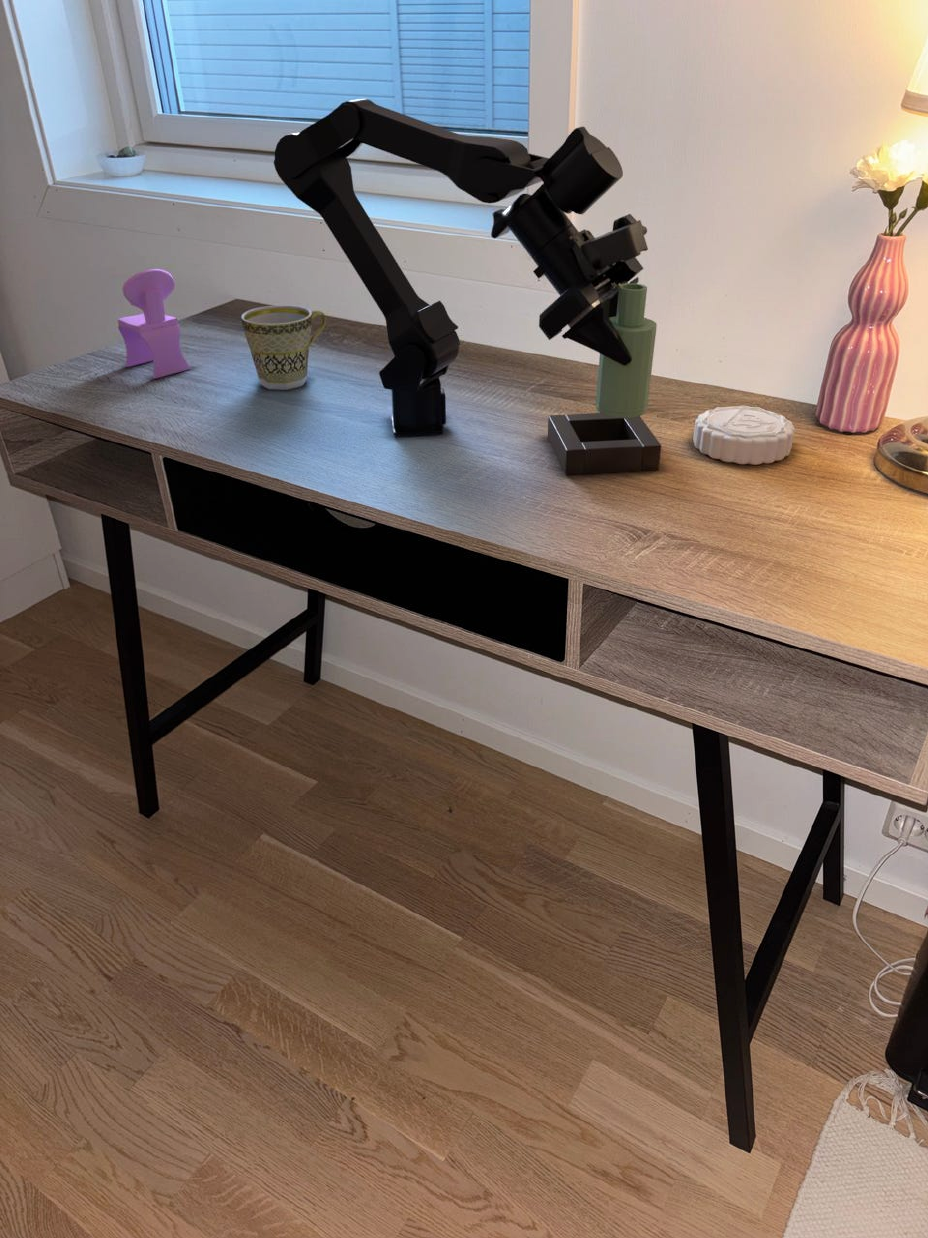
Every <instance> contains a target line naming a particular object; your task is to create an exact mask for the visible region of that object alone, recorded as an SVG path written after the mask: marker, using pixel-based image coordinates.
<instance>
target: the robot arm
mask: <svg viewBox="0 0 928 1238" xmlns="http://www.w3.org/2000/svg"><path fill="white" fill-rule="evenodd" d="M363 144H364V145H367V146H369V147H372V148H374V149H377V150H380V151H383V152H385V153H388V154H391V155H393V156H396V157H399V158H400V159H401V158H402V159H404V160H407V161H410V162H412V163H415V164H417V165H420V166H422V167H426V168H428V169H431V170H434V171H437V172H439V173H440V174H442V175H444V177H447V178H448V179H449V180H450V181H451V182H452V183H453V185H454V186H456V188H458V189H459V190H461V191H463V192H465V193H466V194H467V195H469V196H471V197H473V198H475V199H476V200H477V201H479V202H481V203H483V204H495V203H498V202H501V201H504V200H506V199H509V198H511V197H514V196H515V195H518V194H520V193H522V192H523V191H524V190H525V189H526V188H528V187H531V186H533V185H536V184H539V183H542V184H541V185H540V186H539V187H538V188H537V189H536V190H535V191H534V192H533V193H532V194H529V193H522V194H520V195H519V196H518V197H517V198H516V199H515V200H514V201H513V202H512V203H511V204H510V205H509V206H508V207H507V208H506V209H504V208H500V209H497V210H495V211H493V212H492V227H491V233H490V235H491V238H492V239H497V238H499V237H502V236H504V235H507V234H508V233H510V231H511V233H512V234H513V236H514V237H515V238H516V240H517V241H518V243H520V244H521V246H522V247H523V249H524V250H525V251H526V253H527V254H528V255H529V256H530V258H531V260H533V263H535V265H536V266H537V267H536V268H535V269H534V270H533V273H534V274H535V276H536V277H537V279H538V280H539V279H541V278H543V277H545V278H546V279H547V281H548V282H549V283H550V284H551V286H552V287H553V288H554V290H555V291H556V292H557V293H558V294H557V295H559V297H557V298H556V299H555V300H554V301H553V302H552V303H551V304H550V305H548V306H547V307H546V308H545V309H544V310H543V311H542V312H541V313H539V316H538V317H539V319H538V320H539V321H538V327H539V329H540V330H541V332H542V333H543V334H544V335H545V337H546V338H547V339H548V340H549V341H551V340H552V339H553V338H555V337H557V336H558V335H559V334H560V333H561V332H562V331H563V330H564V329H565V328H566V327H567V326H568V327H569V328H568V330H566V331H565V332H564V333H563V334H562V335H561V337H562V338H563V339H564V340H566V339H569V340H571V341H573V342H575V343H577V344H580V345H581V346H583V347H586V348H588V349H590V350H593V351H594V352H596V353H598V354H599V355H600V354H602V355H604V356H606V357H608V358H610V359H612V360H614V361H616V362H618V363H620V364H621V365H623V366H626V365H627V364H629V363H630V362H631V361H632V357H631V356H630V354H629V352H628V350H627V348H626V346H625V344H624V343H623V341H622V339H621V337H620V336H619V334H618V332H617V331H616V329H615V327H614V325H613V324H612V322H611V320H610V319H609V318H610V317H615V316H616V314H617V303H618V292H619V286H620V285H622V284H628V283H634V284H639V279H640V278H639V276H637V275H638V274H639V273H641V271H643V270H644V267H643V265H642V264H641V262H640V261H639V260H638V259H637V257H639V256H640V255H642V253H641V252H646V251H648V250H649V248H648V243H647V241H646V238H645V235H646V234H647V233H648V229H647V227H646V226H644V225H643V224H642V221H641V219H638V220H636V218H635V217H634V216H633V215H632V214H631V213H628V214H626V215H623V216H621V217H619V218H617V219H615V220H613V222H612V230H611V231H608V232H606V233H604V234H602V235H600V236H596V237H595V236H594V235H593V233H592V232H591V230H586V229H583V230H580V231H579V230H578V229H577V227H576V226H575V225H574V224H573V222H572V220H570V218H569V217H568V215H569V214H571V213H575V214H577V215H584V214H585V213H587V211H588V210H589V209H590V208H591V207H593V206H594V205H595V204H596V203H597V202H598V201H599V200H600V199H601V198H602V197H603V196H604V195H605V194H606V193H607V192H608V191H609V190H610V189H611V188H612V187H613V186H615V184H616V183H617V182H619V181H620V180H621V179H622V178H623V176H624V171H623V167H622V165H621V162H620V160H619V159H618V157H617V156H616V154H615V153H614V151H613V150H612V149H611V148H610V146H606V145H605V144H604V143H603V142H602V141H601V140H600V139H599V138H597V137H596V136H594V135H592V134H590V132H589V131H588V129H587V128H586V127H585V126H578V127H575V128H574V129H573V130H572V131H571V132H570V134H568V135H567V137H566V139H565V141H564V142H563V143H562V144H561V146H560V147H558V149H557V150H556V151H555V152H554V153H553V154H552V155H551V156H550V157H545V156H543V155H538V154H535V153H530V152H528V147H526V146H525V145H524V144H523V143H521V142H519V141H518V140H514V139H508V138H500V137H493V136H481V135H480V136H479V135H467V134H459V133H456V132H453V131H451V130H449V129H445V128H442V127H440V126H437V125H434V124H431V123H429V122H427V121H426V122H425V121H423V120H420V119H416V118H415V117H412V116H409V115H407V114H403V113H401V112H398V111H395V110H392V109H390V108H387V107H384V106H381V105H379V104H377V103H375V102H374V101H372V100H371V99H368V98H359V99H352V100H346V101H343V102H342V103H340V104H339V105H338V106H337V107H336V108H335V109H334V110H333V111H331V112H330V113H329V114H327V115H325V116H323V117H322V118H321V119H319V120H317V121H316V122H314V123H312V124H310V125H309V126H307V127H305V128H304V129H303V130H301V131H300V132H295V133H290V134H285V135H284V136H282V137H281V138H280V139H279V140H278V142H277V143H276V146H275V149H274V160H273V166H274V168H275V171H276V174H277V175H278V178H279V179H280V180H281V181H282V182H283V183H284V185H285V186H286V187H287V188H288V189H289V190H290V192H291V193H292V194H293V196H295V198H297V199H298V200H299V201H300V202H302V203H303V204H304V205H306V206H307V207H309V209H312V210H313V211H314V212H316V213H318V215H319V216H320V217H321V218H322V219H323V222H324V223H325V224H326V226H327V228H328V229H329V231H330V232H331V234H332V235H333V237H334V238H335V240H336V242H337V243H338V245H339V247H340V248H341V250H342V252H343V253H344V255H345V256H346V258H347V259H348V261H349V263H350V264H351V265H352V267H353V269H354V271H355V272H356V273H357V275H358V277H359V278H360V280H361V282H362V283H363V285H364V286H365V288H366V291H368V293H369V294H370V296H371V297H372V299H373V300H374V302H375V304H376V306H377V307H378V308H379V310H380V312H381V314H382V315H383V317H384V319H385V325H386V326H385V327H386V335H387V341H388V345H389V347H390V350H391V352H392V354H393V356H394V357H393V358H392V359H391V360H390V361H389V362H388V363H387V364H385V366H384V367H383V368H382V369H381V370H380V371H378V372H379V373H378V376H379V378H380V382H381V384H382V387H383V389H385V390H389V391H391V407H392V408H391V409H392V411H391V413H392V415H391V425H392V433H393V436H394V437H405V436H424V435H425V436H426V435H442V434H444V426H445V425H446V423H447V406H446V405H447V403H446V401H447V400H446V399H447V398H446V392H445V389H444V388H443V387H442V383H441V380H440V377H442V376H446V375H447V372H448V370H449V367H450V364H452V363H453V362H454V361H455V360H456V359H457V357H458V355H459V352H460V351H459V350H460V345H461V341H460V338H459V335H458V333H457V331H456V330H458V329H459V326H458V325H457V324H456V323H455V322H454V321H453V320H452V319H451V317H450V316H449V314H448V312H447V310H446V307H445V305H444V303H442V301H441V300H437V301H435V302H433V303H431V304H429V303H428V302H426V301H425V300H424V299H422V298H421V297H420V296H419V295H418V293H416V291H415V289H414V288H413V286H412V285H411V282H410V281H409V279H408V277H407V276H406V275H405V273H404V271H403V270H402V268H401V266H400V265H399V263H398V262H397V260H396V259H395V256H394V255H393V254H392V252H391V250H390V249H389V247H388V245H387V243H386V242H385V241H384V239H383V238H382V236H381V234H380V233H379V231H378V230H377V228H376V226H375V225H374V223H373V221H372V220H371V218H370V216H369V214H368V213H367V211H366V210H365V208H364V207H363V205H362V203H361V202H360V200H359V198H358V197H357V196H356V193H355V190H354V182H353V175H352V167H351V165H350V162H349V161H348V160H349V159H348V158H349V157H351V156H352V155H353V154H354V153H356V152H357V151H358V150H359V149H360V147H361V146H363ZM567 214H568V215H567ZM634 277H635V278H634Z"/></svg>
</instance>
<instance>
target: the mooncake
mask: <svg viewBox="0 0 928 1238" xmlns="http://www.w3.org/2000/svg"><path fill="white" fill-rule="evenodd" d="M795 431H796V428H795V426H794V425H793V422H792V421H791V420H789V419H787V418H786V417H785V416H784V415H783V414H780V413H776V412H774V411H770V410H766V409H764V408H762V407H758V406H748V405H738V406H716V407H715V408H714V409H707V410H705V412H703V413H700V414H699V415H698V417H697V418H696V419H695V423H694V430H693V437H692V438H693V439H692V441H693V443H694V447H695V448H696V449H697V450H699V452H700V453H701V454H702V455H707V456H709V457H710V458H711V459H714V460H720V461H722V462H724V463H735V464H737V465H738V464H739V465H747V464H748V465H753V466H756V465H757V466H759V465H761V464H772V463H774V462H778V461H782V460H783V459H784V458H785V457H788V456H789V455H790V454H791V450H792V447H793V442H794V437H795Z"/></svg>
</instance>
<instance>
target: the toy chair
mask: <svg viewBox="0 0 928 1238" xmlns="http://www.w3.org/2000/svg"><path fill="white" fill-rule="evenodd" d="M175 283H176V282H175V279H174V277H173V275H172V274H171V273H170V271H167V270H165V269H162V268H161V269H160V268H151V269H146V270H142V271H138V272H137V273H135V274H134V275H132V276H130V278H128V279H127V280H125V282H124V283H123V286H122V294H123V296H124V298H125V299H126V300H127V301H128V302H129V304H130V305H131V306H133V307H136V308H137V309H140V310H141V311H142V312H143V313H140V314H135V315H130V316H124V317H120V318H117V319H116V320H117V324H118V326H117V328H118V331H119V333H120V334H121V336H122V339H123V341H124V345H125V348H126V361H125V367H127V368H130V367H135V366H138V365H141V364H145V363H149V362H153V373H152V378H153V379H159V378H163V377H166V376H169V375H173V374H178V373H182V372H184V371H188V370H191V369H192V368H191V366H190V365H189V363H188V362H187V360H186V358H185V357H184V355H183V353H182V351H181V345H180V337H181V336H180V335H181V327H180V325H179V320H178V318H177V317H175V316H172V315H167V314H166V311H165V310H166V309H165V300H166V299H167V298H168V297H169V296H170V295H171V294H172V293H173V291H174V289H175V285H176V284H175Z"/></svg>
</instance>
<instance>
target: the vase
mask: <svg viewBox="0 0 928 1238" xmlns="http://www.w3.org/2000/svg"><path fill="white" fill-rule="evenodd" d="M647 291H648V286H647V285H645V284H641V283H637V284H634V283H630V282H628V284H622V285H620V286H619V292H618V303H617V314H616V316H615V317H610V318H609V319H610V320H611V322H612V324H613V325H614V327H615V329H616V331H617V332H618V334H619V336H620V337H621V339H622V341H623V343H624V344H625V346H626V348H627V350H628V352H629V354H630V356H631V357H632V361H631V362H630V363H629V364H627V365H626V366H623V365H621V364H620V363H618V362H616V361H614V360H612V359H610V358H608V357H606V356H604V355H602V354H600V353H599V360H598V370H597V371H598V372H597V383H596V394H595V395H596V396H595V410H596V411H597V413H602V414H604V415H607V416H611V417H618V418H632V417H638V416H640V417H641V416H643V415H644V414H645V415H646V413H647V412H648V406H649V397H650V388H651V379H652V371H653V362H654V355H655V353H654V351H655V343H656V335H657V322H656V321H654V320H652V319H649V318H648V317H647V318H646V317H645V313H646V304H647V293H648V292H647Z"/></svg>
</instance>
